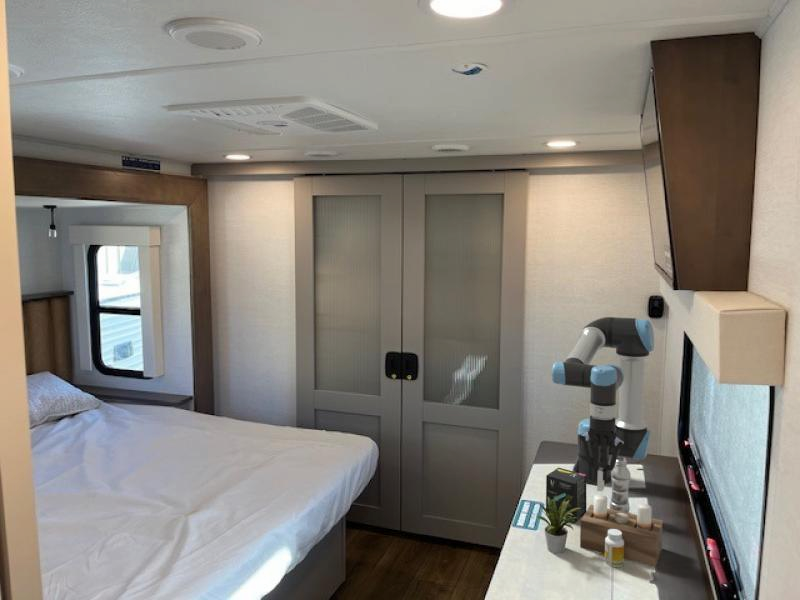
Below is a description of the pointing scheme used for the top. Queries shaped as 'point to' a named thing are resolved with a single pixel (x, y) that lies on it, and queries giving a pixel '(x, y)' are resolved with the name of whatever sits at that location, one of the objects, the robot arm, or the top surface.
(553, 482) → the tampon box
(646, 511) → the knob
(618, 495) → the plastic bottle
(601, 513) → the knob
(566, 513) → the house plant
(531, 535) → the top surface
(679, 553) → the top surface
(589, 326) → the robot arm
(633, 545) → the wooden holder rack
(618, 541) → the supplement bottle
